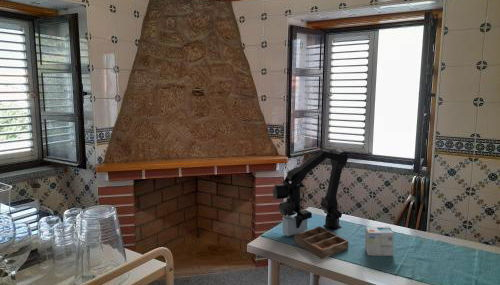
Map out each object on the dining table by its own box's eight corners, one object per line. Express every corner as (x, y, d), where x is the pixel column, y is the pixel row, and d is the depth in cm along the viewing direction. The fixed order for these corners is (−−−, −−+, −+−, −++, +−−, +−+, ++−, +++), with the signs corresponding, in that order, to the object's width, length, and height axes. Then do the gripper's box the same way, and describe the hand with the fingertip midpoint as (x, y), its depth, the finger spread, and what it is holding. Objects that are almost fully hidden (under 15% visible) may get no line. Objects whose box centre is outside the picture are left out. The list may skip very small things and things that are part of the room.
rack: (319, 233, 175) (319, 225, 174) (348, 248, 159) (348, 239, 158) (294, 242, 167) (294, 233, 166) (321, 259, 151) (321, 249, 150)
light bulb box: (389, 248, 158) (390, 225, 156) (393, 256, 151) (394, 232, 149) (364, 248, 159) (364, 225, 157) (367, 255, 152) (368, 232, 150)
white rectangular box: (302, 227, 180) (301, 212, 178) (307, 229, 176) (307, 214, 175) (282, 233, 174) (282, 217, 172) (287, 236, 170) (287, 220, 169)
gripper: (269, 194, 175) (270, 224, 178) (293, 206, 160) (294, 238, 163) (288, 190, 181) (288, 218, 184) (312, 200, 165) (312, 231, 168)
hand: (295, 226), depth 175 cm, fingers closed on white rectangular box, 4 cm apart
